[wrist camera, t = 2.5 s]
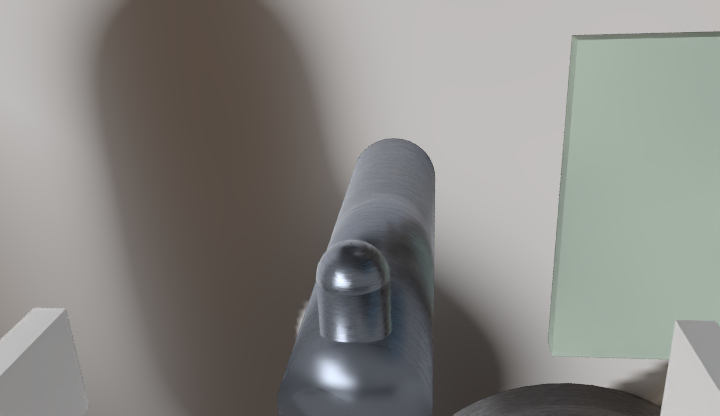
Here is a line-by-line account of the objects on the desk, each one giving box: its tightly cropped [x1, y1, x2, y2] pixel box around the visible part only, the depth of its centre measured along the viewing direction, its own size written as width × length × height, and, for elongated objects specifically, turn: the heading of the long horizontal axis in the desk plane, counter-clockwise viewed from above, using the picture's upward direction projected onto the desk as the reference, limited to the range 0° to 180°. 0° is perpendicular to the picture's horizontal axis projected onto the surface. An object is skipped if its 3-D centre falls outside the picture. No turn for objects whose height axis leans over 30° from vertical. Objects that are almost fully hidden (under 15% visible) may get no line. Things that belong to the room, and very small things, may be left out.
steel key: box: [278, 138, 435, 416], centre depth 19 cm, size 6×3×13 cm, turn 2°
